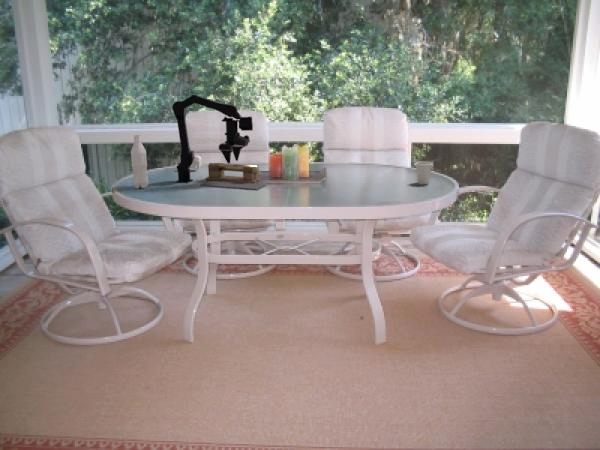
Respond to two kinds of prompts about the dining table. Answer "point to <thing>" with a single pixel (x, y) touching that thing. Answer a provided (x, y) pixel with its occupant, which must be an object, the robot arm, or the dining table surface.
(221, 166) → the bronze rail
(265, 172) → the dining table surface
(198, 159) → the penguin figurine
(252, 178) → the rail stand
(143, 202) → the dining table surface
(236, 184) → the rubber mat
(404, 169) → the dining table surface
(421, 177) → the dixie cup
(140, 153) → the water bottle
